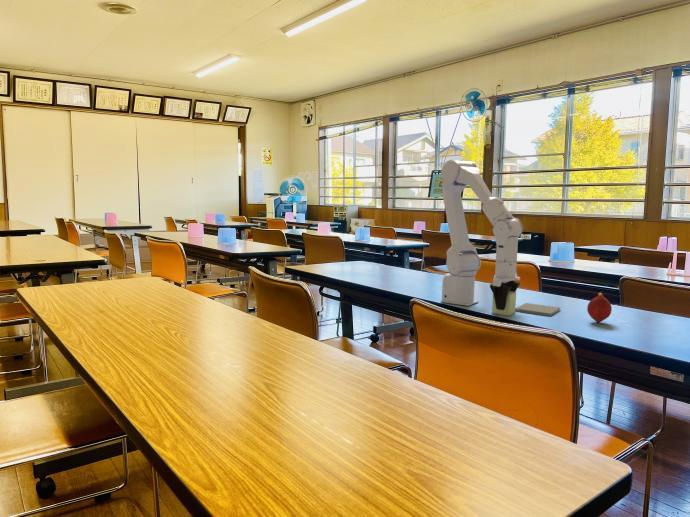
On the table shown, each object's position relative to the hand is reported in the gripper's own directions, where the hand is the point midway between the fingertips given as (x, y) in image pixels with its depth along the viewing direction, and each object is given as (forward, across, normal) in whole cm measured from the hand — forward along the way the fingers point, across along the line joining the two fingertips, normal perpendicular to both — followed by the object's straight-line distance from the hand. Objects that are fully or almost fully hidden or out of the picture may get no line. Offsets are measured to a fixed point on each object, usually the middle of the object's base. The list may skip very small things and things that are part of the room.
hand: (503, 307), depth 146 cm
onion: (+2, +5, -24) cm, 25 cm away
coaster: (+1, +9, -7) cm, 11 cm away
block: (+1, 0, 0) cm, 1 cm away
